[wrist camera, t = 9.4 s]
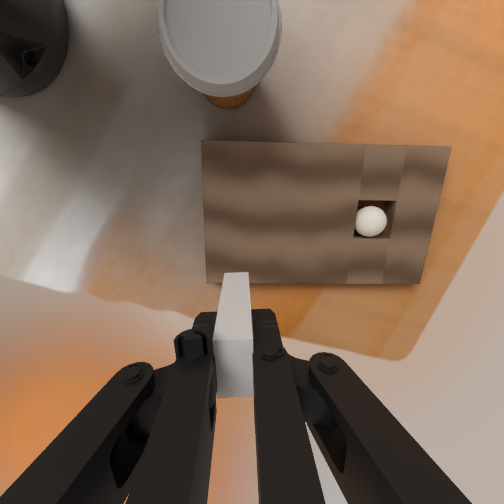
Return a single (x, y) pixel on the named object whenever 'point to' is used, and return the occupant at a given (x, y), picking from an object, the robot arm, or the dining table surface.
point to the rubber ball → (370, 221)
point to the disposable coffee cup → (220, 44)
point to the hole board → (318, 210)
